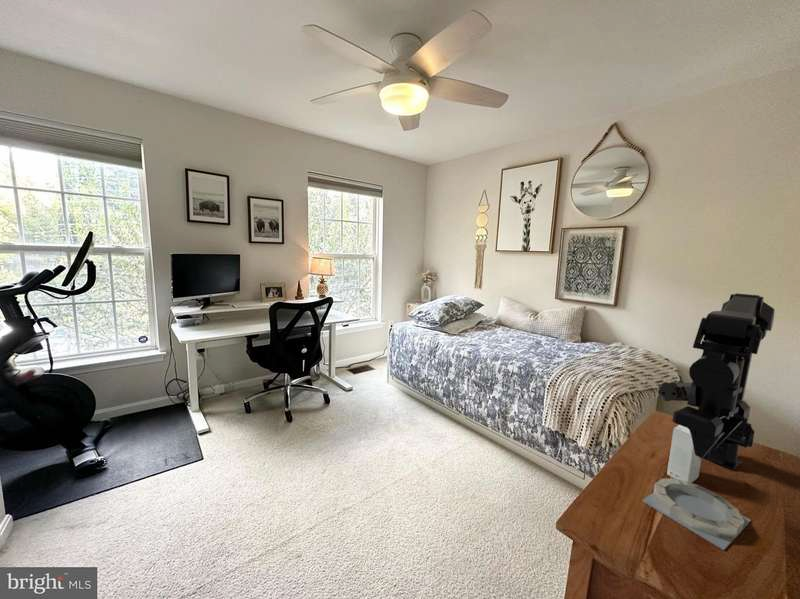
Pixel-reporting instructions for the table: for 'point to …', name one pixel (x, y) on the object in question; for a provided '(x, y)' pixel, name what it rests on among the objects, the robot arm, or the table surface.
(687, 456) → the skincare box
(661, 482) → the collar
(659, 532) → the table surface
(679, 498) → the grey base plate
